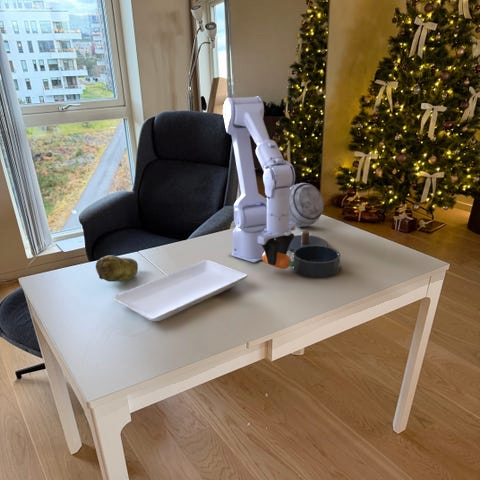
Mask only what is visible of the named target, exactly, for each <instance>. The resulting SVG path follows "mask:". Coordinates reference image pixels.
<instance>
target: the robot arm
mask: <svg viewBox="0 0 480 480" xmlns="http://www.w3.org/2000/svg"><path fill="white" fill-rule="evenodd" d="M222 114H223V121H224V126H225V131H226V133H227V134H229V135H230V136H231V140H232V146H233V153H234V157H235V158H234V159H235V164H236V170H237V177H238V183H239V189H240V196H239V197H238V199H237V200H236V201H235V202H234V204H233V220H234V224H235V227H234V229H233V231H232V238H231V239H232V253H231V254H230V255H231V256H232V257H235V258H238V259H242V260H244V261H247V262H251V263H257V262H259V261H261V260H263V259H262V256H263V254H264V252H265V253H266V257H267V261H268V264H271V265H275V264H276V260H277V252H279V253H282V254H286V255H288V250H289V249H288V248H289V245H290V243H291V241H292V240H293V238H294V236H295V234H294V233H292V231H295V230H296V227H297V226H296V223H294V222H289V200H290V187H292V186H294V185H295V181H296V172H295V169H294V166H293V164H292V163H290V162H289V161H288V160H285V159H284V157H283V155H282V152H281V150H280V148H279V146H278V144H277V142H276V141H275V140H273V139H270V136H269V132H268V129H267V127H266V125H265V121H264V116H265V115H264V114H265V105H264V101H263V99H262V98H261V97H260V96H259V95H256V96H251V97H250V96H246V97H245V96H244V97H227V98H226V99H225V101H224V104H223V109H222ZM251 137H252V139H253V141H254V144H256V145H255V146H256V149H255V155H256V157H257V159H258V162H259V164H260V167H261V168H262V171H263V175H262V180H263V185H264V193H265V196H266V197H265V196H264V195H262V194H260V193H259V189H258V183H257V175H256V170H255V164H254V162H255V161H254V155H253V150H252V144H251ZM268 264H267V265H268ZM271 265H270V266H271Z"/></svg>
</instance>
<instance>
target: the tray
mask: <svg viewBox="0 0 480 480" xmlns="http://www.w3.org/2000/svg"><path fill="white" fill-rule="evenodd" d="M248 277H249V275H248V274H247V273H246V272H245V273H244V272H243V271H239V270H237V269H234V268H230V267H228V266H226V265H223V264H220V263H217V262H214V261H212V260H208V259H204V260H202V261H199V262H197V263H194V264H191V265H189V266H187V267H184V268H181V269H179V270H176V271H174V272H172V273H169V274H167V275H164V276H161V277H160V278H157V279H154V280H151V281H149V282H146V283H144V284H141V285H139V286H136V287H133V288H131V289H128V290H126V291H124V292H121V293H118V294H116V295H115V296H113V301H115V302H117V303H119V304H120V305H122V306H124V307H127V308H128V309H130V310H132V311H133V312H135V313H136V314H138V315H140V316H142V317H143V318H145V319H147V320H149V321H151V322H161V321H164V320H166V319H167V318H171V317H172V316H174V315H176V314H178V313H180V312H182V311H184V310H186V309H189V308H191V307H193V306H195V305H197V304H199V303H201V302H204V301H206V300H208V299H210V298H213V297H215V296H216V295H219V294H221V293H223V292H224V291H228V290H229V289H231V288H233V287H234V286H236V285H237V284H240V283H241V282H243V281H244V280H245V279H246V278H248Z"/></svg>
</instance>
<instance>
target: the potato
mask: <svg viewBox="0 0 480 480" xmlns="http://www.w3.org/2000/svg"><path fill="white" fill-rule="evenodd" d="M95 270H96V273H97V275H98V278H99V279H100V280H104V281H106V282H109V283H111V282H119V283H124V282H128V281H131V280H132V279H133V278H135V276H136V275H137V273H138V270H139V264H138V262H137V261H136V260H135V259H133V258H132V257H131V258H130V257H124V256H123V257H121V256H117V255H113V254H112V255H105V256H103V257H100V258H99V259H98V260H97V261H96V263H95Z"/></svg>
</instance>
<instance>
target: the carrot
mask: <svg viewBox="0 0 480 480" xmlns="http://www.w3.org/2000/svg"><path fill="white" fill-rule="evenodd" d="M261 260H262V262H263V263H264V264H266V265H267V266H271V267H274V268H278V269H281V270H287V269H288V268H289V267H290V268H292V267H293V266H294V264H295V263H294V262H292V258H291V257H290V255H288V254H282V253H279V252H277V260H276V264H275V265H271V264H268V261H267V257H266V253H265V251H264V254H263V256H262V259H261Z"/></svg>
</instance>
